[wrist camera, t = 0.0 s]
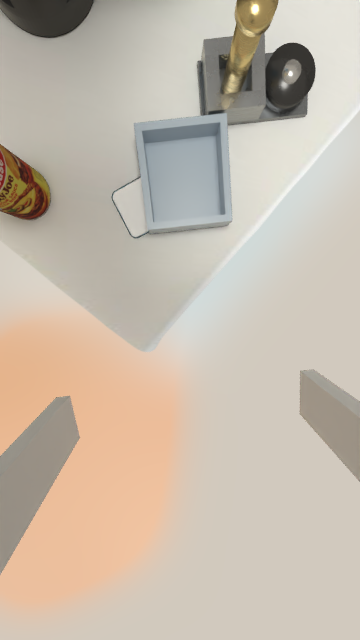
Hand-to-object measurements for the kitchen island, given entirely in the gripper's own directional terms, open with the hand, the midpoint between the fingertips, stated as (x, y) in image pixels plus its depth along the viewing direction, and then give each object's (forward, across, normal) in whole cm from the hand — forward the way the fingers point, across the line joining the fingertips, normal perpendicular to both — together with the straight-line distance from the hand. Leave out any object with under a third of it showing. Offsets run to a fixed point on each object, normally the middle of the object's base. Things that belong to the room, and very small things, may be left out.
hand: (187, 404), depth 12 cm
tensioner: (+28, +15, +33) cm, 45 cm away
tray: (+28, +3, +21) cm, 35 cm away
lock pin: (+26, +11, +33) cm, 44 cm away
